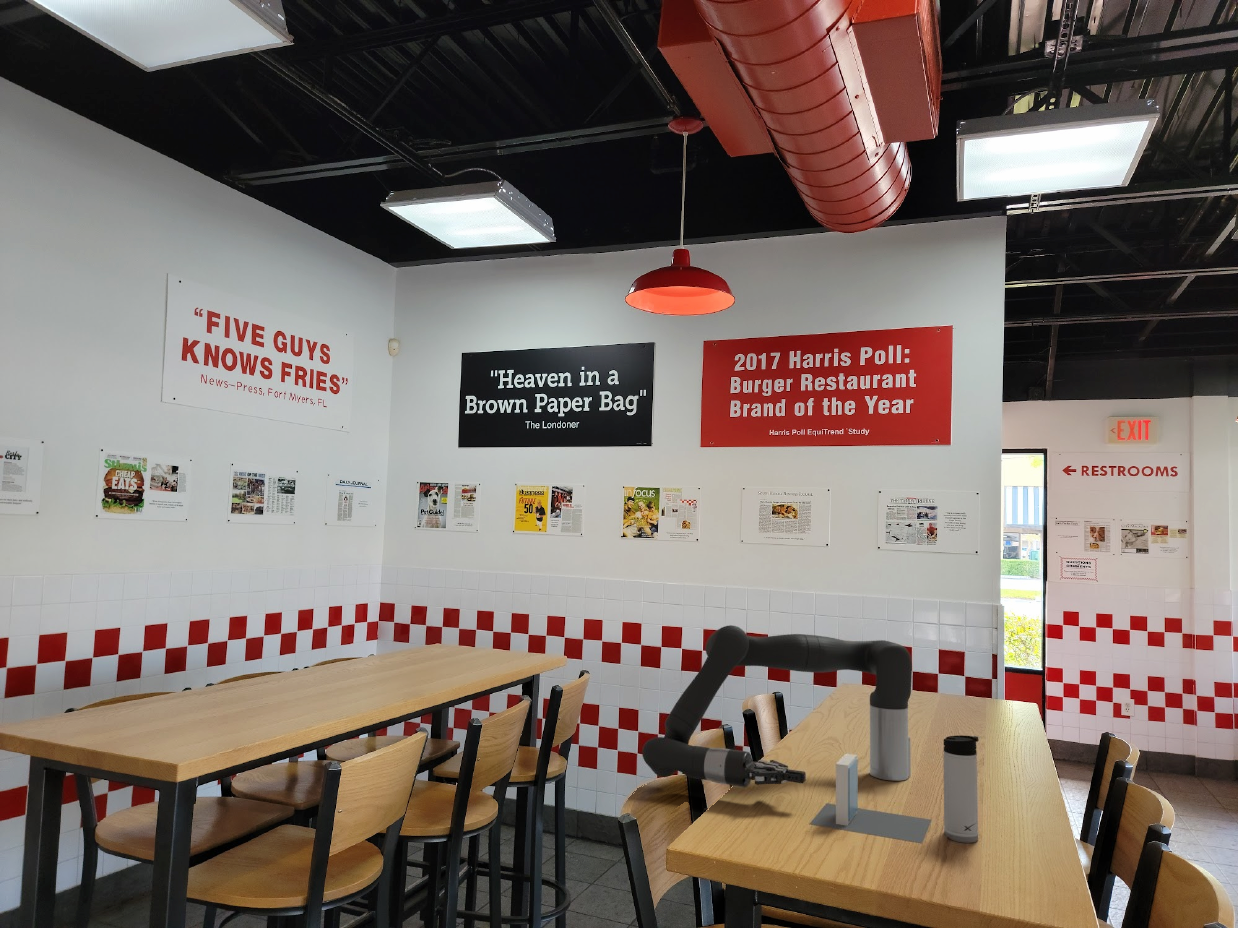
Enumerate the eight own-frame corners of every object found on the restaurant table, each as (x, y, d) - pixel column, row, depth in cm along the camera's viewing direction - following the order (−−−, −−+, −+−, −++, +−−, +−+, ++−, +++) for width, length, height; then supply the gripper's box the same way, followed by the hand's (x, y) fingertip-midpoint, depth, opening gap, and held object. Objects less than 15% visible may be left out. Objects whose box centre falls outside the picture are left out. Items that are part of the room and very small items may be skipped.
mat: (809, 826, 174) (809, 823, 174) (826, 805, 188) (826, 802, 189) (922, 845, 164) (922, 843, 164) (931, 821, 179) (931, 819, 179)
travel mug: (976, 845, 165) (975, 740, 167) (941, 838, 169) (940, 735, 170) (982, 836, 170) (980, 734, 172) (947, 829, 174) (946, 730, 176)
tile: (835, 823, 175) (835, 763, 176) (845, 810, 184) (845, 753, 185) (848, 825, 174) (848, 765, 175) (858, 812, 183) (858, 754, 184)
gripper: (718, 755, 185) (797, 766, 178) (737, 743, 197) (812, 753, 190) (718, 791, 185) (797, 803, 177) (737, 776, 197) (812, 787, 189)
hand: (804, 777), depth 183 cm, fingers closed
